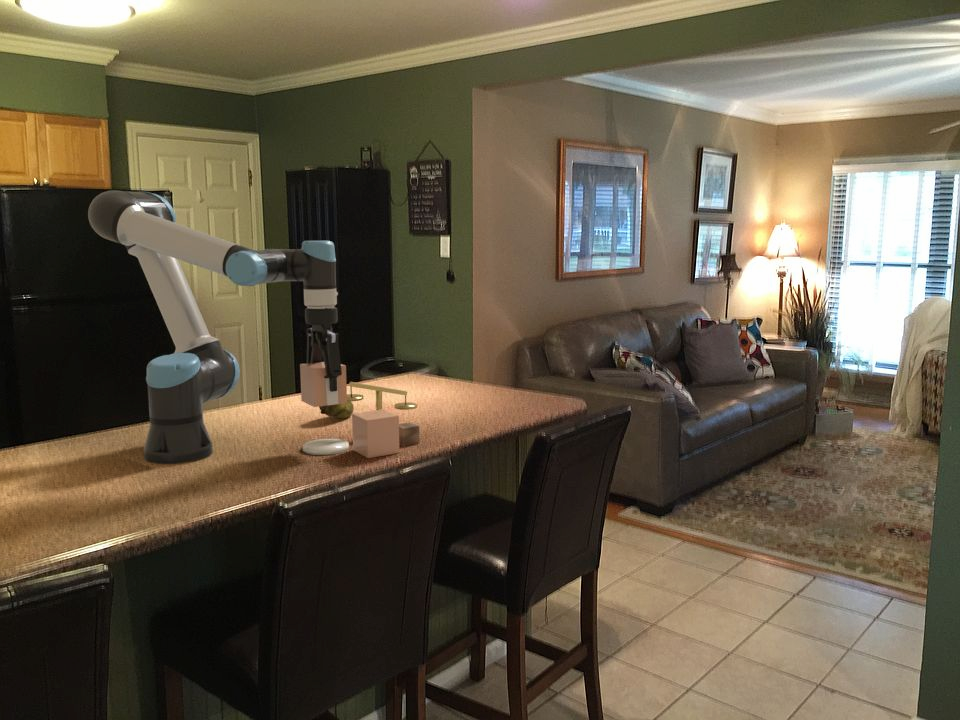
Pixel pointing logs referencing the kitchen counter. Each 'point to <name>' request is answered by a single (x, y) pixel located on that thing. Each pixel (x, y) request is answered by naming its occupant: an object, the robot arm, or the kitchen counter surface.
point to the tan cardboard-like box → (375, 433)
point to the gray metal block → (408, 434)
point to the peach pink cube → (319, 384)
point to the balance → (380, 396)
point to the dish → (325, 446)
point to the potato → (338, 410)
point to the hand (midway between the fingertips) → (324, 401)
